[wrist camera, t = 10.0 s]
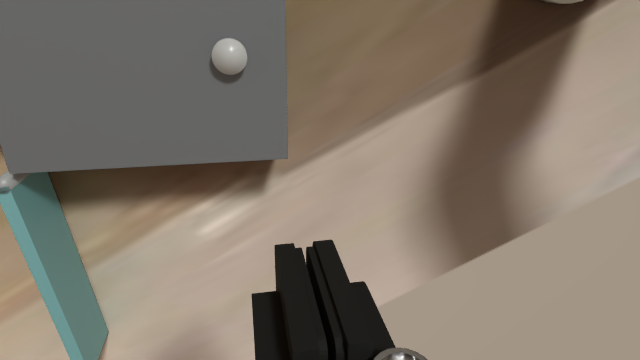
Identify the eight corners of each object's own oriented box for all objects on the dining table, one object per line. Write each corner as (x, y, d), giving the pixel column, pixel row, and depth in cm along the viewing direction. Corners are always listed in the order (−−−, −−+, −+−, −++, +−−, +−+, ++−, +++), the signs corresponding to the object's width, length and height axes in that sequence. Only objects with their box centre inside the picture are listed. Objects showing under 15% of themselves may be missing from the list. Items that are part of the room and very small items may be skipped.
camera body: (276, -5, 33) (286, -6, 27) (280, 136, 38) (289, 162, 32) (-37, -10, 29) (-108, -13, 23) (11, 148, 34) (-38, 180, 28)
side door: (109, 331, 43) (92, 377, 38) (97, 333, 43) (78, 380, 38) (41, 151, 35) (6, 178, 29) (25, 153, 34) (-12, 181, 29)
